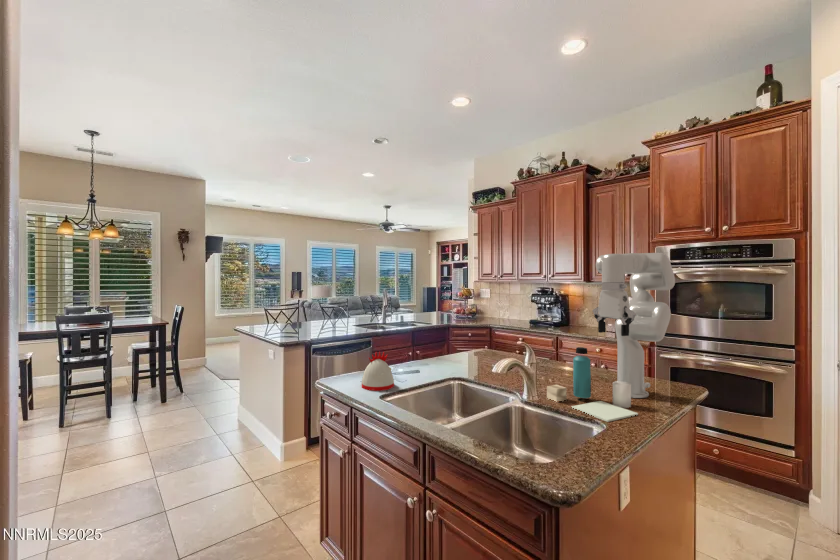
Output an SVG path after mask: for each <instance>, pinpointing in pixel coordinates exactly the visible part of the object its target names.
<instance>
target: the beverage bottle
mask: <svg viewBox="0 0 840 560" xmlns="http://www.w3.org/2000/svg"><path fill="white" fill-rule="evenodd" d="M575 354H578V355H576V356H574V357H573V358H572V360H573V361H572V364H573V365H572V367H573V370H572V373H573V374H572V377H573V378H572V390H573V391H572V394H573V396H574V397H576V398H580V399H581V398H582V399H589V398H591V397H592V371H591V362H592V361H591V358H589V357H588V356H585V355H588V348H587V347H584V346H583V347H581V346H580V347H576V349H575Z"/></svg>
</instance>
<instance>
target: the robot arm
mask: <svg viewBox="0 0 840 560" xmlns="http://www.w3.org/2000/svg"><path fill="white" fill-rule="evenodd" d="M595 269H596V271H597V272H598V274H601V291H600V293H599V298H598V306H597V307H595V308H593V309H592V312H593V316H594V318H595V320H596V322H597V323H598V325H597V327H598V328H597V329H598V330H597V332H598V333H600V334H601V333H606V331H607V330H606V327H607V326H606V324H607V323H606V321H605V320H606V319H607V318H608V319H616V320H615V321H614V330H615V336H616V341H617V342H616V344H617V351H616V352H617V354H616V355H617V357H616V358H617V359H616V360H617V366H616V367H617V379H616V381H621V382H627V383H630V384H631V399H632V398H633V399H646V398H648V397H649V395H650V394H649V392H648V391H647V390H646V389H647V388H650V387H651V386H652V385H651V383H650V382H645V350H644V348H643V346H642V345H641V343H640V342H639V341H643V342H644V341H645V342H655V343H656V342H661V341H662V340H663V339H664V338H665V335H666V332H667V329H668V326H669V324H670V321H671V317H672V316H671V315H672V314H671V313H672V312H671V307H670V306H669V305H668V304H667V303H666V302H662V301H655V298H654V297H653V295H652V294H651V293H650V292H648V291H670V290H672V289H673V288H675V287H674V286H675V284H676V277H675V273H674V270H673V267H672V264H671V261H670V259H669V257H668V255H667V254H665V253H664V252H644V253H642V252H641V253H640V252H639V253H636V252H635V253H634V252H630V253H628V252H627V253H606V254H601V255H599V256H598V257H597V258H596V261H595ZM626 275H630V278H629V289H630V295H631V297H632V298H631V300H629V295H628V291H626V289H627V288H628V285H627V284H626V283H625V280H626V277H625V276H626Z"/></svg>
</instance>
